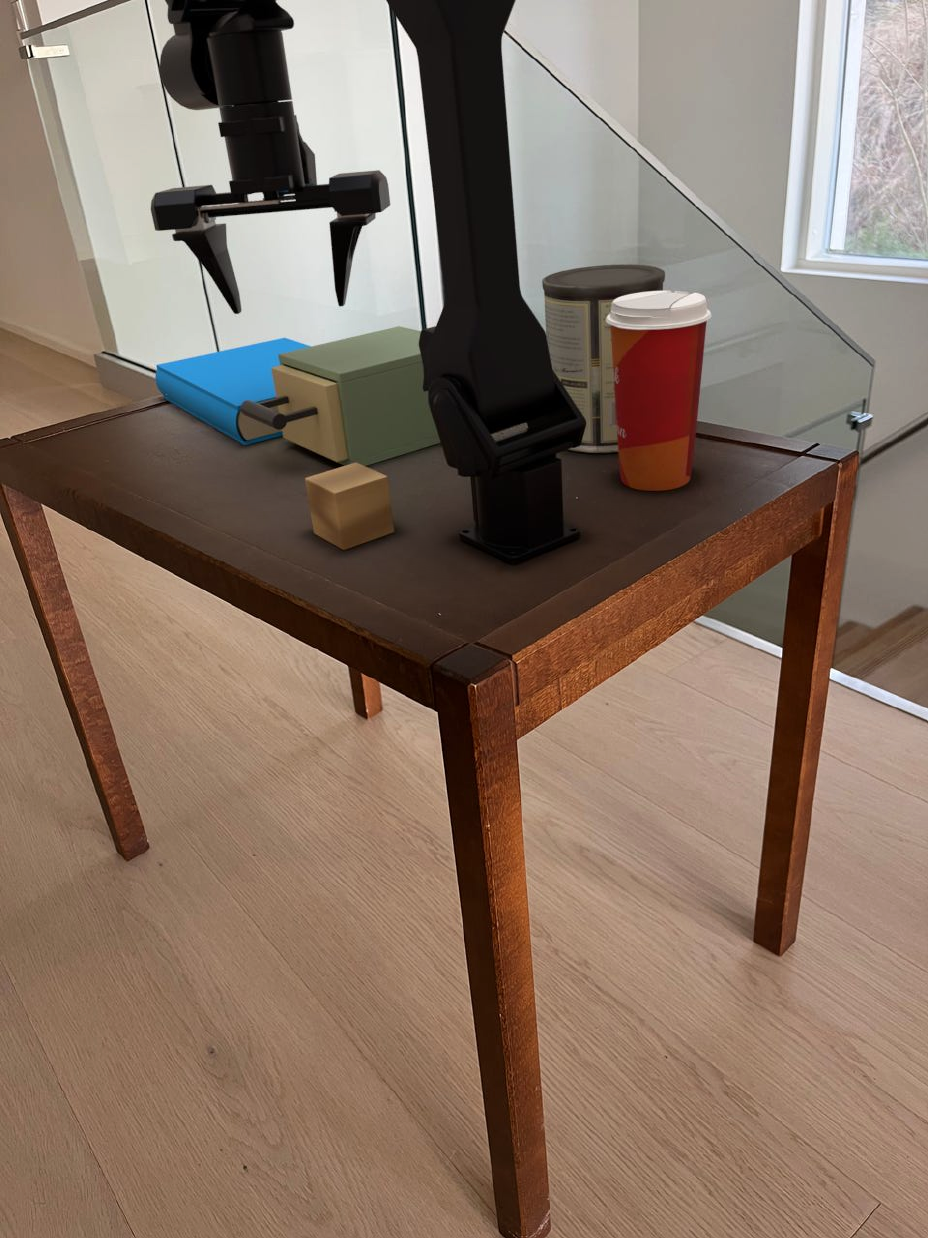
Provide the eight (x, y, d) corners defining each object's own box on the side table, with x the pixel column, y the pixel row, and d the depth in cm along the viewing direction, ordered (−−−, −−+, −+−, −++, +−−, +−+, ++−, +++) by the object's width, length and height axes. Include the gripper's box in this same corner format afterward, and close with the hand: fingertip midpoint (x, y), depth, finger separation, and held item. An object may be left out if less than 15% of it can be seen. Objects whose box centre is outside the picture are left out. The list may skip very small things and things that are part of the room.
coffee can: (597, 411, 94) (595, 260, 87) (684, 429, 87) (690, 267, 80) (524, 440, 88) (516, 280, 81) (612, 462, 81) (611, 289, 74)
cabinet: (353, 470, 84) (339, 373, 80) (293, 442, 93) (277, 353, 89) (475, 432, 91) (468, 341, 87) (408, 409, 99) (399, 325, 95)
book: (284, 337, 118) (385, 366, 99) (290, 372, 120) (391, 407, 101) (149, 365, 110) (232, 403, 91) (158, 402, 112) (241, 447, 93)
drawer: (291, 476, 82) (277, 398, 78) (240, 450, 89) (225, 378, 86) (451, 427, 90) (444, 355, 87) (392, 407, 97) (384, 340, 94)
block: (394, 532, 71) (387, 475, 69) (343, 550, 69) (334, 493, 67) (363, 516, 75) (356, 461, 73) (313, 533, 73) (304, 477, 70)
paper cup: (644, 455, 82) (646, 285, 75) (723, 473, 76) (732, 292, 70) (586, 483, 77) (583, 305, 70) (666, 504, 72) (670, 314, 65)
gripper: (388, 92, 80) (408, 284, 88) (176, 112, 82) (213, 299, 90) (366, 93, 71) (391, 308, 78) (126, 115, 73) (173, 324, 80)
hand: (289, 309), depth 82 cm, fingers open, 9 cm apart
